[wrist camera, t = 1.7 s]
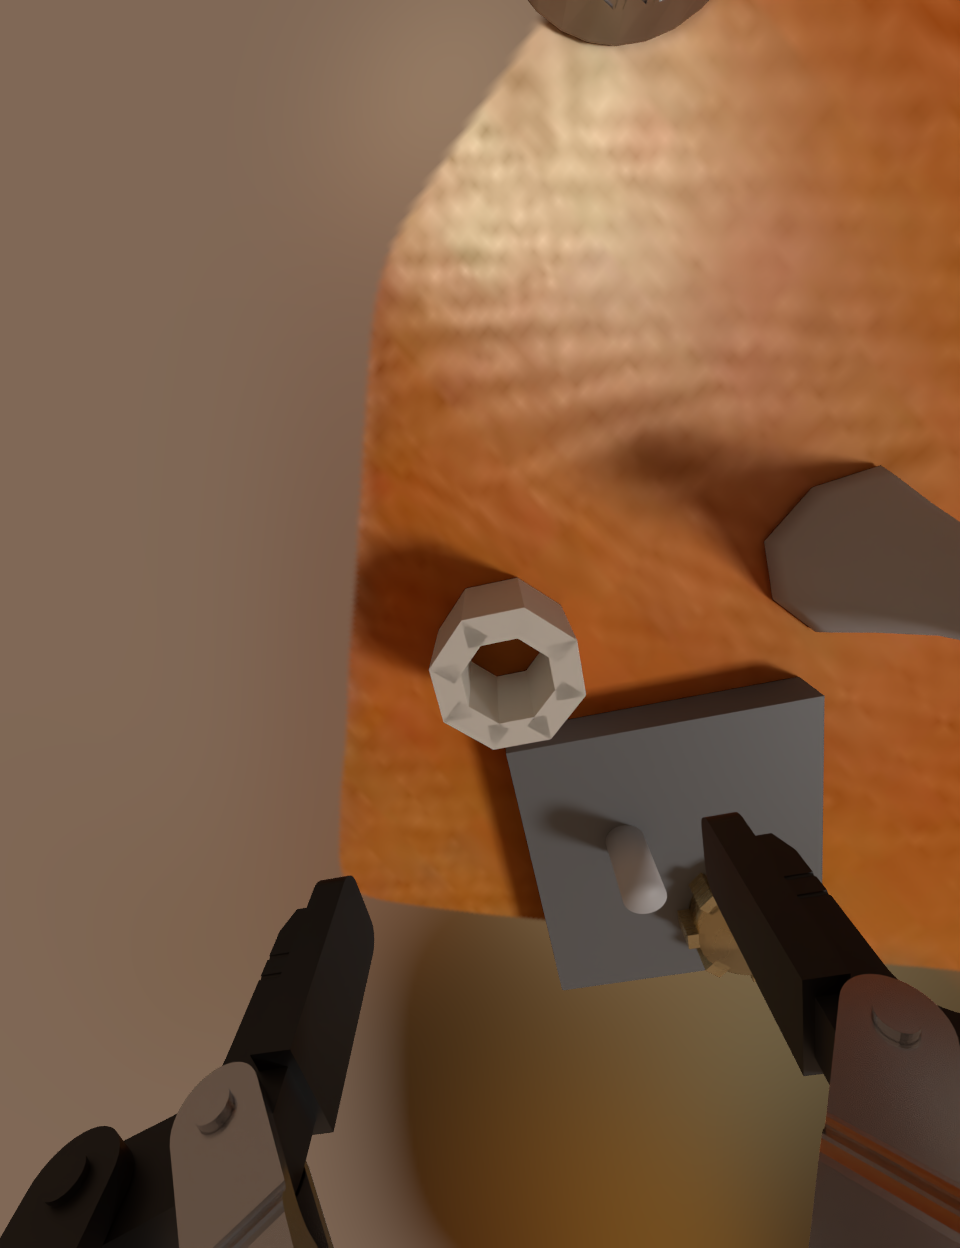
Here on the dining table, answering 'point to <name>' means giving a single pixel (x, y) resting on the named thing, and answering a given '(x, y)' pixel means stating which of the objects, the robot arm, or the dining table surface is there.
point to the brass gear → (710, 932)
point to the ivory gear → (514, 700)
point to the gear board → (660, 816)
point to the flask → (868, 559)
